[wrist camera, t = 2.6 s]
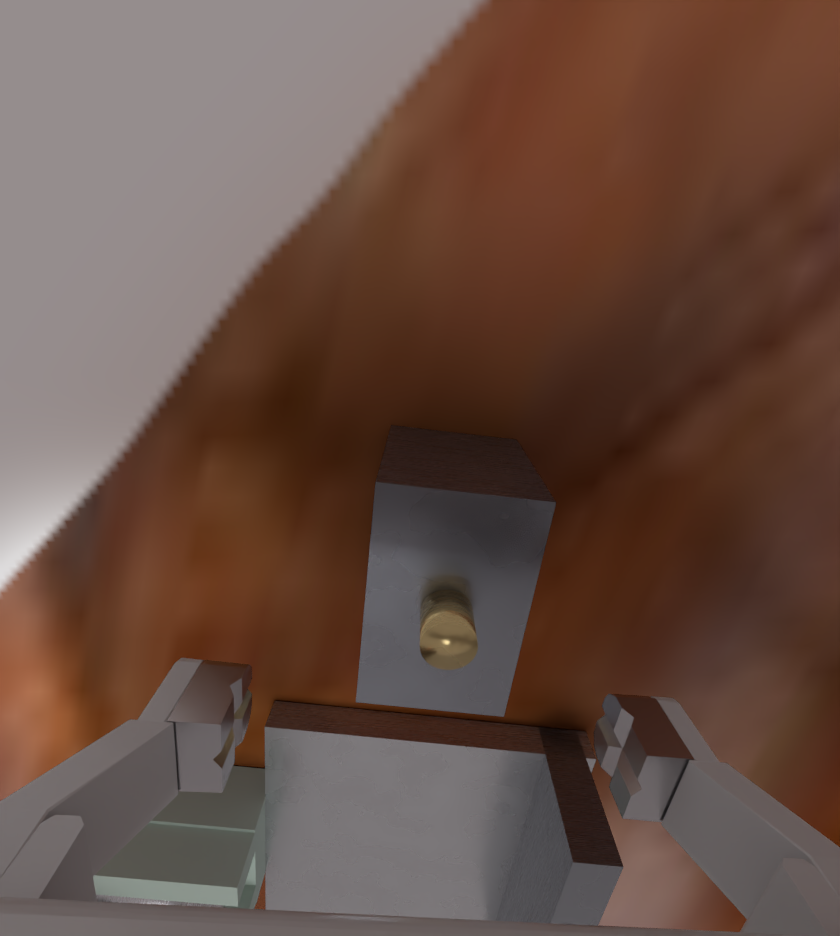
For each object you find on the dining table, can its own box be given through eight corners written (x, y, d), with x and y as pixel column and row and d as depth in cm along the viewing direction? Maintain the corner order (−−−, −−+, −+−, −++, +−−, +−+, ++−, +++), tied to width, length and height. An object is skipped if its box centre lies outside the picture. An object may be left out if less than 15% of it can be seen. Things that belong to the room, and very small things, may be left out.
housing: (516, 438, 18) (572, 528, 11) (483, 604, 21) (511, 758, 14) (391, 424, 18) (369, 505, 11) (374, 593, 21) (348, 743, 14)
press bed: (586, 731, 24) (635, 867, 18) (525, 913, 29) (548, 1061, 24) (274, 700, 23) (225, 830, 17) (273, 891, 29) (236, 1036, 23)
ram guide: (274, 769, 25) (237, 885, 20) (273, 840, 27) (240, 960, 22) (125, 755, 25) (51, 868, 20) (136, 828, 27) (72, 946, 22)
